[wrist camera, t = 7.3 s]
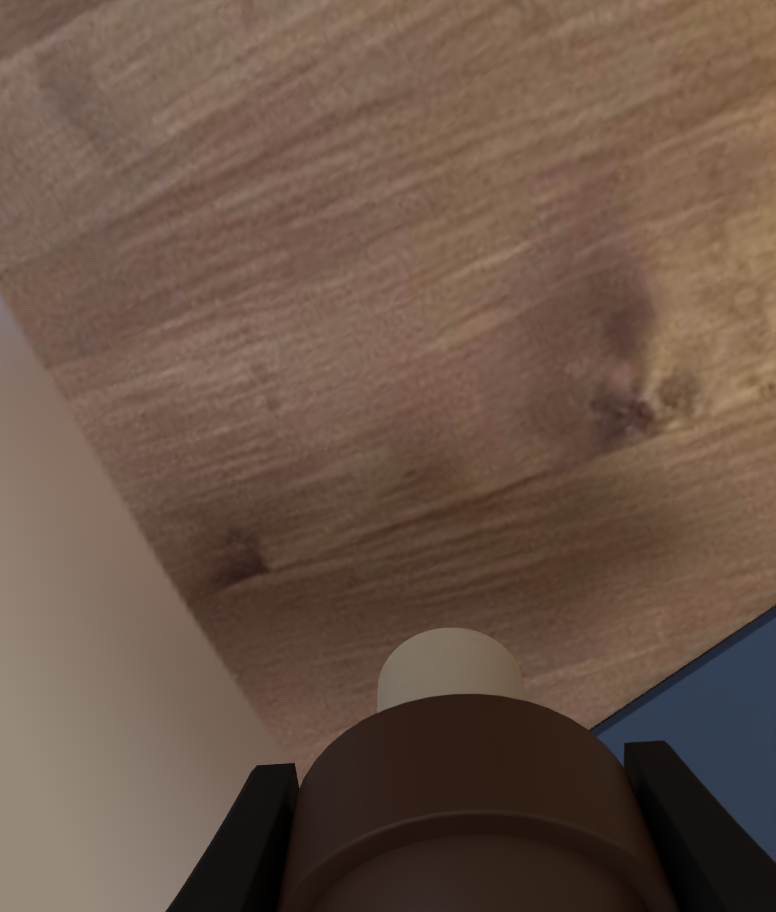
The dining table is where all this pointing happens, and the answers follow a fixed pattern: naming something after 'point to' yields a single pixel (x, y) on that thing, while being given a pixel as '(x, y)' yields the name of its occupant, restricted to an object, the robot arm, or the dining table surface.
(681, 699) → the blue flat board
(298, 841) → the mushroom
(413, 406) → the dining table surface
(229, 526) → the dining table surface
